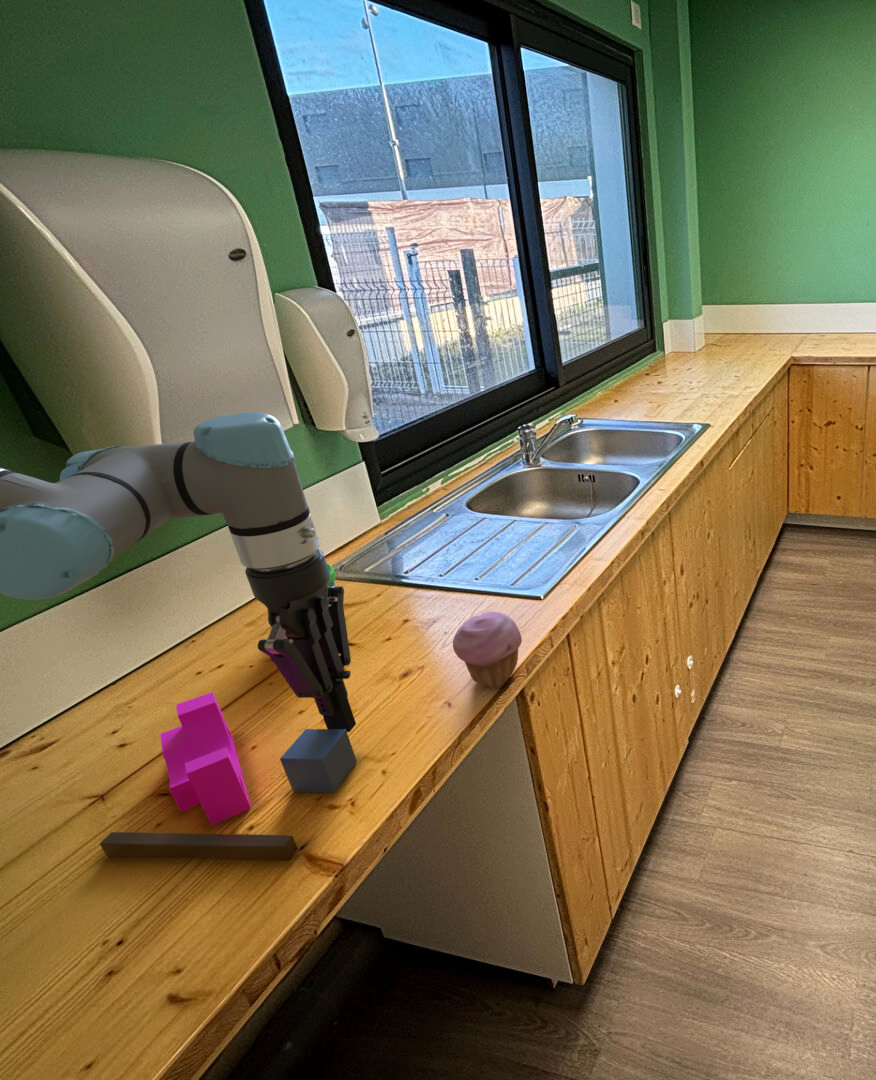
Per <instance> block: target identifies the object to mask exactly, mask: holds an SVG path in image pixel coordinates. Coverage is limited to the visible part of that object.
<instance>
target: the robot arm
mask: <svg viewBox="0 0 876 1080" xmlns="http://www.w3.org/2000/svg"><path fill="white" fill-rule="evenodd" d="M193 437H194V440H193V441H185V442H171V443H159V444H158V443H157V444H145V445H144V444H143V445H131V446H128V445H127V446H126V445H122V446H119V445H113V446H112V445H111V446H106V447H104V448H100V449H95V450H87V451H81V452H78V453H76V454H74V455H72V456H71V457H70V458H68V460H66V467H64V469H62V470H61V472H60V475H59V481H57V482H49V481H45V480H43V479H39V478H36V477H34V476H33V477H32V476H29V475H26V474H23V473H18V472H15V471H12V470H10V469H5V468H2V467H0V594H1V595H3V596H6V597H10V598H13V599H18V600H25V601H27V600H28V601H39V600H40V601H41V600H46V599H51V598H55V597H58V596H61V595H63V594H66V593H67V592H70V591H72V590H73V589H74V588H76V587H78V586H79V585H81V584H83V583H85V582H86V581H88V580H91V579H93V578H95V577H97V576H98V575H99V574H100V573H101V572H103V571H104V570H105V569H106V568H107V566H108V565H109V564H110V563H111V562H112V561H113V560H115V559H116V558H117V557H119V556H120V555H121V554H122V553H124V552H125V551H127V550H128V549H129V548H131V547H132V546H133V545H135V544H137V543H138V542H140V541H141V540H143V539H144V538H145V537H147V536H148V535H149V534H150V533H153V532H154V531H155V530H156V529H157V528H159V527H160V526H161V525H162V524H164V523H166V522H167V521H170V520H173V519H174V520H175V519H183V518H192V517H200V516H211V515H215V514H221V515H222V516H223V519H224V520H225V523H226V525H227V527H228V531H229V533H230V536H231V539H232V542H233V545H234V548H235V550H236V553H237V556H238V558H239V562H240V563H241V565H242V566H243V567H245V569H244V572H245V576H246V578H247V581H248V583H249V586H250V590H251V591H252V594H253V597H254V599H255V600H257V601H258V602H260V603H261V604H263V605H264V606H265V607H266V609H267V622H268V624H269V626H270V627H271V629H270V632H269V634H268V637H267V639H266V638H265V639H263V638H262V639H259V641H258V643H257V649H258V651H260V652H262V653H263V654H265V655H267V656H268V657H269V658H270V660H271V662H273V664H274V665H275V667H276V669H277V670H278V671H279V673H280V674H281V676H282V677H283V679H284V680H285V682H286V683H287V685H288V687H290V689H291V690H292V692H293V693H294V695H295V697H296V698H298V699H299V698H300V699H302V698H303V699H314V702H315V705H316V708H317V710H318V713H319V715H321V716H322V718H323V720H324V724H325V726H326V729H346V731H347V733H351V731H352V730H353V728H355V726H356V725H357V723H356V720H355V717H354V713H353V710H352V708H351V704H350V701H349V698H348V697H349V695H348V691H347V687H346V684H345V682H344V680H348V679H349V678H350V677H351V673H352V672H351V670H345V667H347V666H350V664H351V662H352V659H351V651H350V645H349V637H348V630H347V623H346V616H345V615H346V614H345V609H344V599H345V598H344V597H345V588H344V587H343V586H341V585H339V586H336V585H335V586H332V587H328V586H327V584H328V583H329V581H330V572H329V569H328V566H327V564H328V562H327V560H326V556H325V553H324V551H323V550H322V549H320V545H321V543H320V539H319V536H318V533H317V531H316V527H315V524H314V521H313V519H312V515H311V510H310V507H309V505H308V502H307V498H306V495H305V492H304V489H303V485H302V481H301V478H300V475H299V471H298V468H297V465H296V462H295V460H296V458H295V454H294V453H295V452H294V451H292V449H291V447H290V444H289V442H288V440H287V437H286V434H285V432H284V429H283V427H282V424H281V423H280V421H279V420H278V419H277V418H276V417H275V416H273V415H271V414H268V413H266V412H265V413H264V412H241V413H234V414H231V415H221V416H217V417H213V418H209V419H206V420H204V421H202V422H200V423H198V424H197V425H196V426H195V427H194V429H193ZM330 605H331V606H330Z"/></svg>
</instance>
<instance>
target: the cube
mask: <svg viewBox="0 0 876 1080" xmlns="http://www.w3.org/2000/svg"><path fill="white" fill-rule="evenodd" d="M279 761H280V763H281V765H282V768H283V770H284V772H285V773H284V774H285V776H286V778H287V780H288V783H289V785H290V788H291V790H292V792H293V793H335V792H336V791H337V790H338V788H339V787H340V786H341V784H342V783H343V781H344V780H345V779H346V777H347V776H348V775H349V773H350V771H351V770H352V769H353V768H354V766H355V765H356V763H357V762H358V760H357V758H356V754H355V752H354V749H353V745H352V743H351V740H350V737H349V734H348V732H347V731H346V729H327V728H305V729H304V730H303V732H302V733H301V734H300V735H299V736H298V737H297V738H296V740H295V741H294V742H293V743H292V744H291V745H290V747H289V748H288V749H287V750H286V751H285V753H283V754H282V756H281V757H280V758H279Z"/></svg>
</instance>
